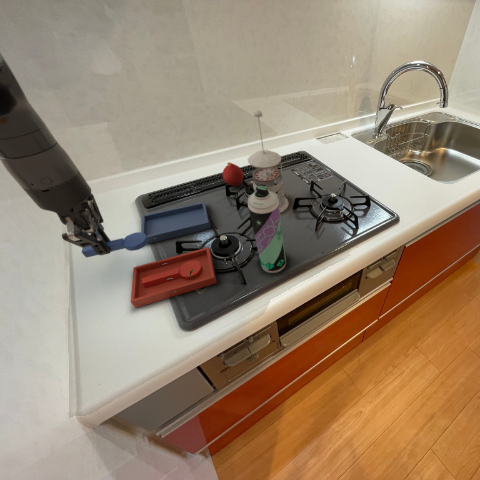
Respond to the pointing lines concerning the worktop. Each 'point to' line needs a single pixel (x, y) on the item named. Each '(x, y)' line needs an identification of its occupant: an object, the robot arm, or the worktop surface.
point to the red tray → (166, 289)
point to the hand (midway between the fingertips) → (105, 249)
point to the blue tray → (175, 222)
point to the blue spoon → (121, 244)
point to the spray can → (267, 229)
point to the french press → (268, 170)
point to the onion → (233, 174)
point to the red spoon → (174, 274)
